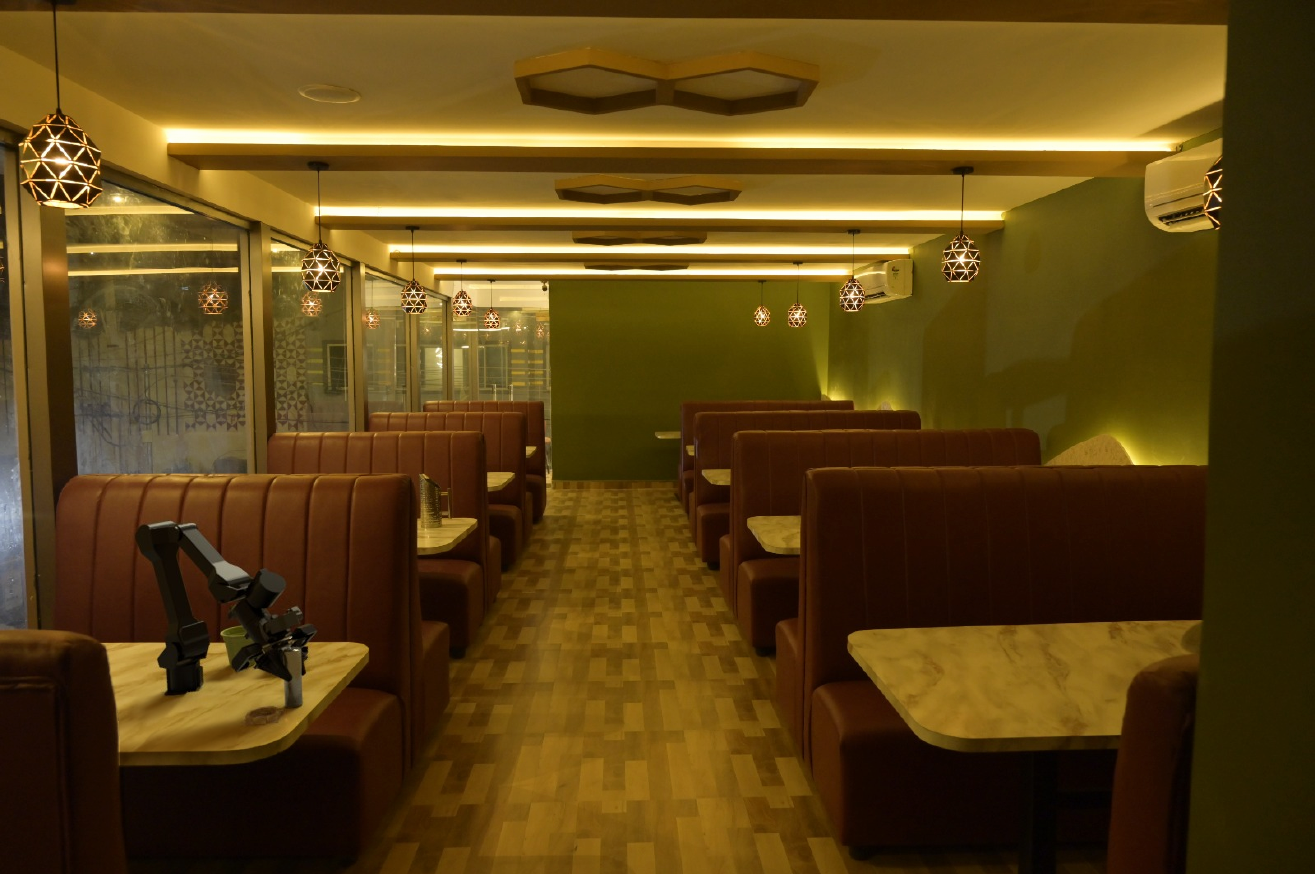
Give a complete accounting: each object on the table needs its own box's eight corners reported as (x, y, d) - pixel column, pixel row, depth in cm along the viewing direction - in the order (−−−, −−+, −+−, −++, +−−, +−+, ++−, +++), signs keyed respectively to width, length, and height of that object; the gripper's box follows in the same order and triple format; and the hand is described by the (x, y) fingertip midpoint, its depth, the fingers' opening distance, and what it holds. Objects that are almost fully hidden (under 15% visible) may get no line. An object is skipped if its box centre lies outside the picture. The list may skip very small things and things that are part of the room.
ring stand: (241, 730, 167) (241, 720, 167) (249, 718, 173) (248, 707, 173) (277, 727, 168) (277, 716, 168) (284, 714, 175) (283, 704, 175)
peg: (285, 708, 175) (283, 653, 174) (284, 702, 178) (282, 648, 177) (303, 705, 176) (301, 650, 176) (302, 699, 180) (300, 645, 179)
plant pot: (214, 666, 205) (212, 632, 204) (250, 655, 213) (248, 622, 212) (236, 673, 200) (234, 638, 199) (272, 661, 208) (270, 627, 207)
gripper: (238, 609, 168) (281, 669, 165) (309, 587, 186) (349, 641, 182) (212, 642, 172) (254, 701, 169) (284, 618, 189) (323, 671, 186)
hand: (297, 677), depth 176 cm, fingers closed on peg, 3 cm apart
